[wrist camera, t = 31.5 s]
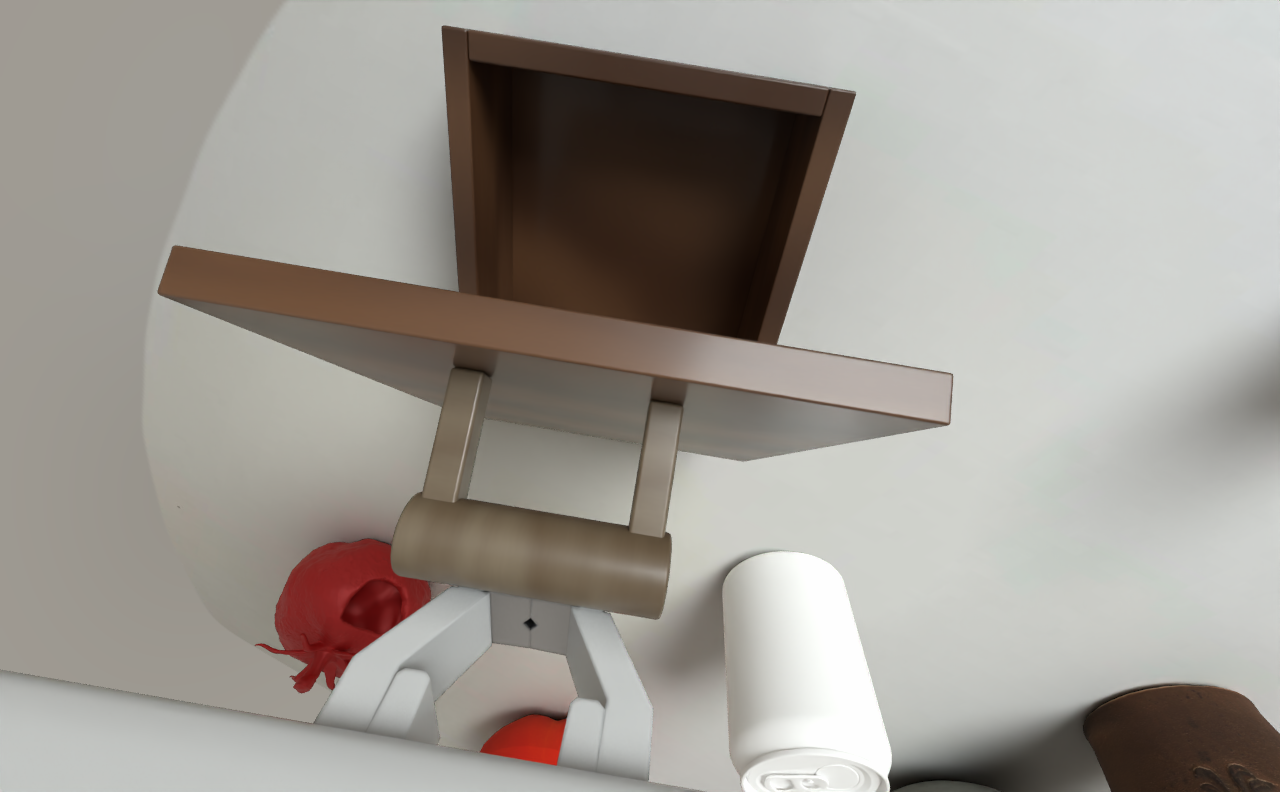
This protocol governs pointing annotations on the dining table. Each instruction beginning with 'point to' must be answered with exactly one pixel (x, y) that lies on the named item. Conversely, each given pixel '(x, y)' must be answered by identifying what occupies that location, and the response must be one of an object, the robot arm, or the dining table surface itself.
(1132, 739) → the pitcher
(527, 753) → the tomato
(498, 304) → the chest lid
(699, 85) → the chest
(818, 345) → the dining table surface
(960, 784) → the bowl
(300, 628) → the red crowned fruit
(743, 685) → the beverage can
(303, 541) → the dining table surface
